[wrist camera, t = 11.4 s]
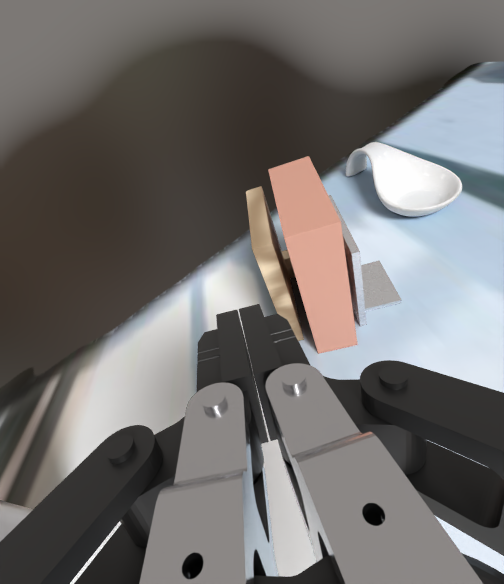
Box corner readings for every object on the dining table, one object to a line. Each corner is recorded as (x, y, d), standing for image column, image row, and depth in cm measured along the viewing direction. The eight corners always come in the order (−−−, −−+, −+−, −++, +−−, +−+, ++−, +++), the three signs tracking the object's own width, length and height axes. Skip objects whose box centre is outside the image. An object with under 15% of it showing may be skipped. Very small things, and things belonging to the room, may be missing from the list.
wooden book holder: (288, 343, 41) (252, 248, 31) (276, 273, 51) (245, 184, 41) (366, 324, 40) (356, 218, 29) (337, 256, 50) (322, 158, 39)
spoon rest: (477, 204, 49) (486, 159, 44) (411, 238, 48) (413, 196, 43) (378, 161, 66) (377, 126, 61) (329, 185, 65) (324, 152, 61)
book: (318, 353, 39) (284, 237, 27) (299, 278, 49) (268, 169, 37) (357, 344, 38) (340, 221, 26) (330, 270, 48) (308, 156, 36)
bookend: (360, 326, 40) (351, 253, 32) (336, 265, 48) (324, 196, 40) (407, 314, 39) (411, 237, 31) (374, 255, 48) (370, 182, 39)
